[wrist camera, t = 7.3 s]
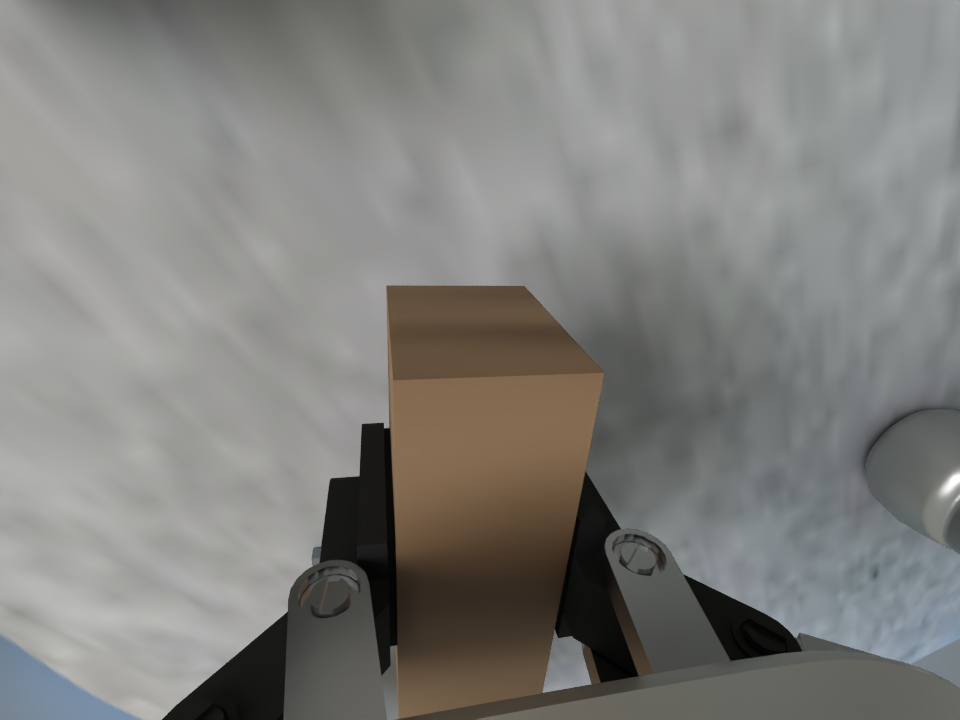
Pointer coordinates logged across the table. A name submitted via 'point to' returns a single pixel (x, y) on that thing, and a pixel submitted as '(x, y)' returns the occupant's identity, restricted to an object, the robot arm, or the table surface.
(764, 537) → the table surface
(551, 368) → the tall brown block
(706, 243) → the table surface
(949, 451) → the silver bottle
